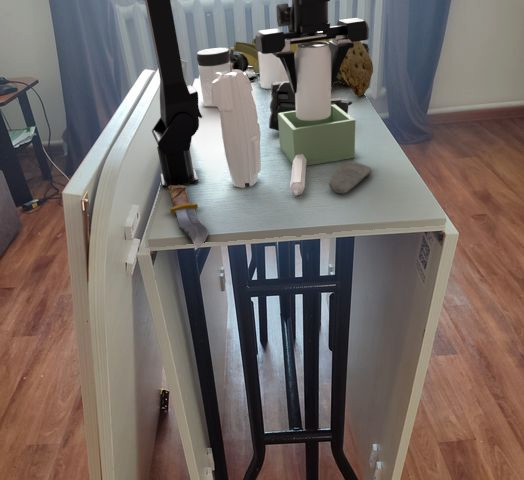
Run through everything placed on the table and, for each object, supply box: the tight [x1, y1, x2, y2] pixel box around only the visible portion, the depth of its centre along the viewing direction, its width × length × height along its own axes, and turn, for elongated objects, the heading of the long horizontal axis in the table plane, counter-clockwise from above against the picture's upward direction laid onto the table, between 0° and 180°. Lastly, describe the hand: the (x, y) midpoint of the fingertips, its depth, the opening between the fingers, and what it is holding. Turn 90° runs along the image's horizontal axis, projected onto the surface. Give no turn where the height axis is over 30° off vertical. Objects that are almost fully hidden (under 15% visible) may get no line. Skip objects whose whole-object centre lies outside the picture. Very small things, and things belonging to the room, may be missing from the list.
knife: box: [167, 184, 209, 251], centre depth 85 cm, size 25×1×5 cm
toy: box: [229, 46, 250, 73], centre depth 157 cm, size 7×7×15 cm
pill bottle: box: [258, 52, 281, 90], centre depth 145 cm, size 8×8×11 cm
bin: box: [278, 104, 356, 167], centre depth 102 cm, size 12×12×7 cm
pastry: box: [340, 41, 374, 97], centre depth 130 cm, size 17×17×3 cm
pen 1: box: [248, 75, 259, 82], centre depth 153 cm, size 14×2×1 cm, turn 127°
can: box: [294, 42, 332, 122], centre depth 96 cm, size 6×6×12 cm
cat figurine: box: [268, 81, 353, 132], centre depth 118 cm, size 10×14×18 cm
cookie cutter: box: [233, 36, 260, 74], centre depth 155 cm, size 18×12×2 cm, turn 29°
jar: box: [196, 47, 232, 108], centre depth 136 cm, size 9×8×12 cm
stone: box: [328, 160, 372, 194], centre depth 91 cm, size 12×2×5 cm
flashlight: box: [212, 69, 262, 188], centre depth 89 cm, size 7×18×7 cm
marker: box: [289, 154, 307, 197], centre depth 92 cm, size 3×2×16 cm
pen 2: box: [331, 97, 349, 104], centre depth 131 cm, size 1×19×1 cm
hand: (312, 90), depth 97 cm, fingers closed on can, 6 cm apart
